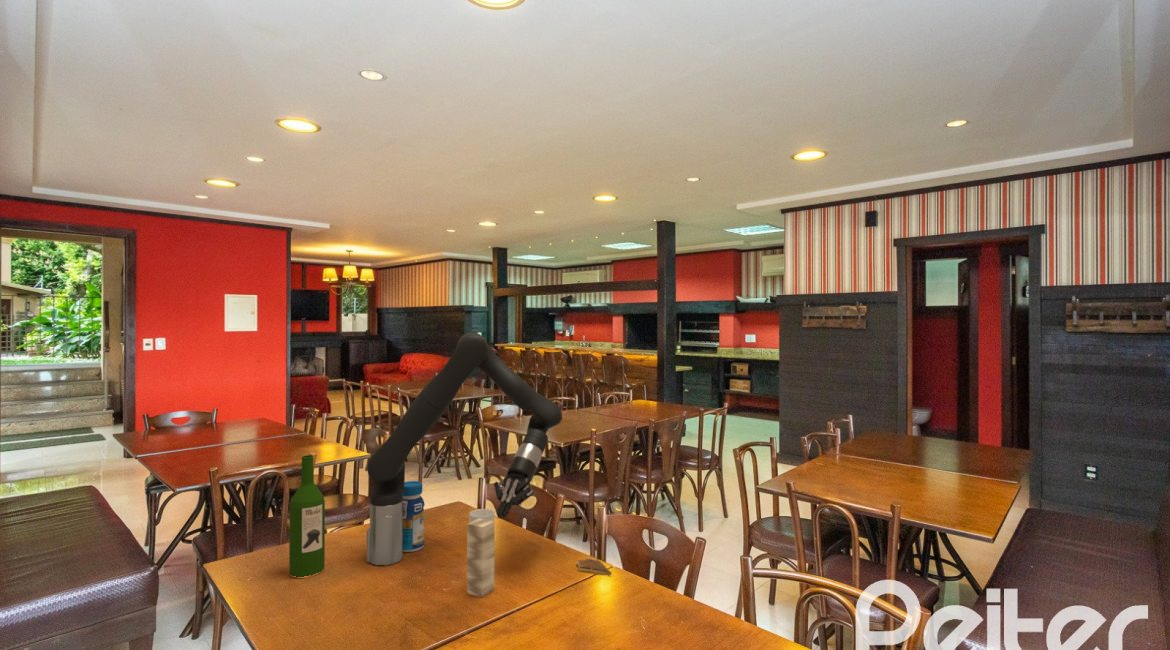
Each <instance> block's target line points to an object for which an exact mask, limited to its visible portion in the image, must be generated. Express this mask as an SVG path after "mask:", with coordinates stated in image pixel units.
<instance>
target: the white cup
mask: <svg viewBox="0 0 1170 650" xmlns="http://www.w3.org/2000/svg"><path fill="white" fill-rule="evenodd" d="M468 515H469V517H468V518H469V519H468V520H469V523H470V522H473V521H475V520H477V519H479V518H480V519H485V520H490V521H494V522H495V511H494V510H493V509H490V508H480V509H479V508H478V509H474V510H472V511H470V512H469V513H468Z"/></svg>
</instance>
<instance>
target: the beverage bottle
mask: <svg viewBox="0 0 1170 650" xmlns="http://www.w3.org/2000/svg"><path fill="white" fill-rule="evenodd" d="M422 494H423V483H422V482H421V481H419V480H418V481H417V480H409V481H405V482H404V491H403V553H404V552H405V553H410V552H412V553H413V552H416V551H419V550H422V549H423V548H424V547H425V515H426V511H425V500H424V498H423V497H422Z"/></svg>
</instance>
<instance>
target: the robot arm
mask: <svg viewBox="0 0 1170 650" xmlns="http://www.w3.org/2000/svg"><path fill="white" fill-rule="evenodd" d="M499 357H500V356H498V355H497V354H496V353H495V352H494V351H493V349H492V348H491V346H490V345H489V344H488V342H487V340H486V338H485V337H484V336H483V335H481V334H479V333H477V332H467V333H465V334H463V335H462V336H461V337H460V338H459V339H458V341H457V345H456V347H455V349H454V351H453V353H452V354H451V356H450V357H449V359H448V361H447V362H446V364H445V365H444V366H443V367H442V369H441V370H440V371H439V372H438V373H437V374H435V376H433V378H432V379H430V381H429V382H428V383H427V384H426V385H425V386H424V387H423V388H422V390H421V391H419V392H418V395H417V396H416V397H415V398H414V400H413V401H412V402H411V404H410V405H409V407H408V408H407V410H406V411H405V412H404V415H403V416H402V417H401V419H400V421H399V422H398V424H397V426H396V427H395V429H394V430H393V432H392V434H390V436H389V437H388V438H387V439H386V440H385V441H384V443H383V444H382V445H381V446H380V447H379V448H378V449H377V450H376V451H375V452H374V453H372V455H371V456H370V457H369V459H368V462H367V473H368V475H369V477H370V479H371V480H372V485H371V489H370V493H369V528H368V529H366V563H367V562H371V563H372V565H373V564H375V565H374V566H377V565H385V566H391V565H394V563H395V564H397V563H399V562H401V561H402V560H403V556H404V555H403V553H404V552H403V491H404V482H406V481H405V479H406V478H405V475H406V459H407V458H408V456H409V454H410V453H411V452H412V451H413V448H415V446H416V445H417V444H418V443H419V442H420V441H421V440H422V439H423V437H425V436H426V435H427V434H428V433H429V431H430V430H431V429H433V427H434V426H435V425H436V424H437V423H438V421H439V420H440V419H441V417H442V416H443V414H444V413H445V412H446V410H447V409H448V407H449V406H450V405H451V403H452V402H453V400H454V399H455V397H456V396H457V394H458V392H459V390H460V389H461V387H462V386H463V384H464V383H465V381H467V379H468V378H469V377H470V376H471V374H472V373H473V372H474V371H475V370H476V369H477V368H478V369H480V370H481V371H482V372H484V374H486V375H487V376H488V377H489V378H490V379H491V381H493V382H494V384H495V385H496V386H497V387H498V388H499V389H500V391H502V393H503V394H504V395H505V396H506V397H507V398H509V400H511V402H513V403H514V404H515V405H516V407H518V408H519V409H520V410H522V411H524V412H525V411H528V412H529V411H530V412H532V414H531V416H530V419H529V422H528V424H527V429H526V430H527V431H526V434H525V435H524V438H523V440H522V442H521V443H520V446H519V447H518V449H517V451H516V452H515V454H514V456H513V458H512V461H511V463H510V464H509V467H508V469H507V474H506V476H504V477H503V479H502V481H500V482H498V481H495V482H494V484H493V485H494V490H495V495H496V498H497V500H498V501H499V502H500V504H499V506H498V508H497V510H496V515H497V516H498V518H500V519H506V517H507V516H508V515H509V512H510V510H511V508H512V507H513V506H517V507H518V506H520V505H521V504H522V503H524V502H525V501H527V500H528V499H529V498H530V497H532V496H533V495H534V490H533V489H532V487H530V486H531V482H532V481H533V478H534V476H535V474H536V471H537V469H538V467H539V465H540V462H541V460H542V456H543V454H544V452H545V449H546V447H547V445H548V441H549V438H548V437H549V436H548V435H547V432H548V431H549V429H551V428H553V427H556V426H557V425H560V423H561V422H562V419H563V413H562V411H561V409H560V407H559V406H558V405H557V403H555V402H553V401H552V400H550V399H549V398H547V397H546V396H544V395H542V394H540V393H539V392H537V391H536V390H535V389H534V388H533V387H532V386H530V385H529V383H527V382H526V380H524V379H523V378H522V377H521V376H520V375H518V374H517V373H516V372H515V371H514V370H512V369H511V368H510V367H509V366H508V365H507V364H506V363H505V362H504V361H503V360H502V359H501V358H499ZM371 563H370V564H371ZM390 564H391V565H390Z"/></svg>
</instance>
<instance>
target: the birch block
mask: <svg viewBox="0 0 1170 650" xmlns="http://www.w3.org/2000/svg"><path fill="white" fill-rule="evenodd" d="M494 590H495V520H494V521H490V520H485V519H480V518H479V519H477V520H475V521H473V522H470V521H469V523H467V524H466V594H468V595H472V596H476V597H479V598H484V597H485V596H487V595H488V594H490V593H492V592H493V591H494Z"/></svg>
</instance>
